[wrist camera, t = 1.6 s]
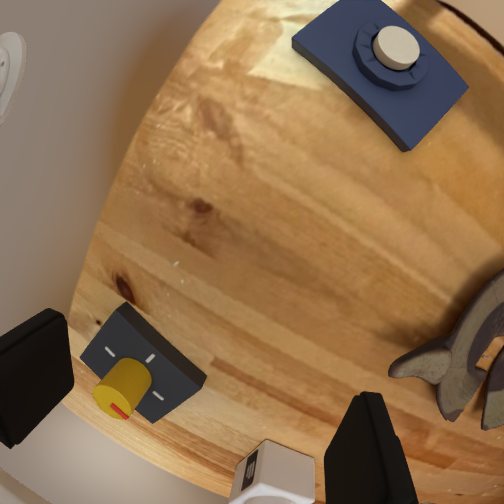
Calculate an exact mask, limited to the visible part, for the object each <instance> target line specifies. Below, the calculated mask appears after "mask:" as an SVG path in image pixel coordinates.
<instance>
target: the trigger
mask: <svg viewBox="0 0 504 504" xmlns="http://www.w3.org/2000/svg"><path fill="white" fill-rule="evenodd" d="M373 50H374V53H375V55H376V57H377V59H378V60H379V61H380V62H381V63H382V64H383V65H385V66H386V67H388V68H390V69H394V70H404V69H406V68H408V67H409V66H410V65H411V64H413V63H414V62H415V61H416V60H417V58H418V57H419V53H420V50H419V45H418V43H417V41H416V39H415V38H414V37H413V35H412V34H410V33H409V32H408V31H407V30H405V29H403V28H400V27H397V26H387V27H385V28H383V29H382V30H381V31H380V32H379V34H378V35H377V37H376V39H375V40H374V43H373Z"/></svg>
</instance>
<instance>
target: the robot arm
mask: <svg viewBox="0 0 504 504" xmlns="http://www.w3.org/2000/svg"><path fill="white" fill-rule="evenodd" d="M9 65H10V61H9V54H8V52H7V50H6V49H4V48H1V47H0V97H1V95H2V92H3V90H4V87H5V84H6V81H7V77H8V72H9ZM73 386H74V375H73V368H72V361H71V354H70V345H69V336H68V326H67V321H66V320H65V317H64V315H63V314H62V313H60V312H58V311H55V310H53V309H51V308H47V309H45V310H43V311H42V312H40V313H38V314H37V315H35V316H33V317H32V318H30V319H28V320H27V321H25V322H24V323H22V324H20V325H18V326H17V327H15V328H14V329H12V330H10V331H9V332H7V333H6V334H4V335H2V336H1V337H0V442H2V443H3V444H4V445H5V446H7V447H8V448H9V449H11V448H12V447H13V446H14V445H15V444H16V445H18V444H20V443H21V442H22V441H23V440H24V439H25V438H26V437H27V435H28V434H29V433H30V432H31V431H32V430H33V429H34V428H35V427H36V426H37V425H38V424H39V423H40V422H41V421H42V420H43V419H44V418H45V417H46V415H47V414H49V413H50V411H51V410H52V409H53V408H54V407H55V406H56V405H57V404H58V403H59V402H60V401H61V400H62V399H63V398H64V397H65V396H66V395H67V394H68V393H69V392H70V391H71V390H72V388H73ZM324 473H325V494H326V504H419V502H418V499H417V495H416V491H415V488H414V484H413V481H412V478H411V474H410V471H409V468H408V464H407V461H406V458H405V455H404V452H403V449H402V446H401V443H400V440H399V438H398V436H396V435H395V432H394V429H393V426H392V423H391V420H390V417H389V414H388V411H387V408H386V405H385V402H384V400H383V397H382V395H381V394H380V393H375V392H365V391H363V392H361V393H360V395H355V396H354V398H353V399H352V401H351V404H350V406H349V408H348V410H347V412H346V414H345V416H344V418H343V420H342V422H341V424H340V426H339V428H338V430H337V431H336V433H335V435H334V437H333V439H332V441H331V443H330V445H329V446H328V448H327V450H326V452H325V456H324ZM0 504H51V503H50V502H48V501H46V500H45V499H43V498H42V497H40V496H38V495H37V494H36V493H34V492H33V491H31V490H30V489H28V488H27V487H26V486H24V485H23V484H21V483H20V482H19V481H17V480H16V479H14V478H13V477H12V476H11V475H9V474H8V473H7V472H5V471H4V470H3V469H2V468H0ZM421 504H435V503H426V502H425V503H421Z"/></svg>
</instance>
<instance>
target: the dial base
mask: <svg viewBox="0 0 504 504" xmlns="http://www.w3.org/2000/svg"><path fill="white" fill-rule="evenodd" d="M123 358H132V359H135V360H137V361H139V362H140V363H142V364H143V365H144V366H145V367H146V368H147V369H148V371H149V373H150V375H151V379H152V382H151V385H150V387H149V388H148V390H147V391H146V393H145V394H144V396H143V397H142V399H141V400H140V402H139V403H138V405H137V406H136V408H135V410H136V411H137V412H139V413H140V414H141V415H142V416H143V417H145V418H146V419H147V420H148V421H150V422H151V423H152V424H153V423H155V422H156V421H158V420H159V419H161V418H162V417H163V416H165V415H166V414H168V413H169V412H170V411H172V410H173V409H175V408H176V407H177V406H179V405H180V404H181V403H183V402H184V401H186V400H187V399H188V398H190V397H191V396H192V395H194V394H195V393H196V392H198V391H199V390H200V389H201V388H202V386H203V384H204V381H205V379H206V377H207V375H205V374H204V373H203V372H202V371H201V370H199V369H198V368H197V367H196V366H195V365H194V364H192V363H191V362H190V361H189V360H188V359H187V358H186V357H184V356H183V355H182V354H181V353H180V352H179V351H178V350H177V349H176V348H174V347H173V346H172V345H171V344H170V343H169V342H168V341H167V340H166V339H165V338H164V337H162V336H161V335H160V334H159V333H158V332H157V331H156V330H155V329H154V328H153V327H152V326H151V325H150V324H149V323H148V322H147V321H146V320H145V319H144V318H143V317H142V316H141V315H140V314H139V313H138V312H137V311H136V310H135V309H134V308H133V307H132V306H131V305H130V304H129V303H128V302H125V303H123V304H122V305H121V306H120V307H118V308H117V309H116V310H115V311H114V312H113V313H112V315H111V316H110V317H109V319H108V320H107V321H106V322H105V324H104V325H103V326H102V328H101V329H100V330H99V332H98V333H97V334H96V336H95V337H94V338H93V340H92V341H91V342H90V344H89V345H88V346H87V348H86V349H85V351H84V352H83V353H82V355H81V356H80V359H81V360H82V361H83V362H84V363H85V364H86V365H87V366H88V367H89V368H90V369H91V370H92V371H93V372H94V373H95V374H96V375H97V376H98V377H99V378H100V379H101V380H102V379H103V378H104V377H105V376H106V375H107V373H108V372H109V371H110V370H111V369H112V368H113V367H114V366H115V365H116V364H117V363H118V361H119V360H121V359H123Z"/></svg>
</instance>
